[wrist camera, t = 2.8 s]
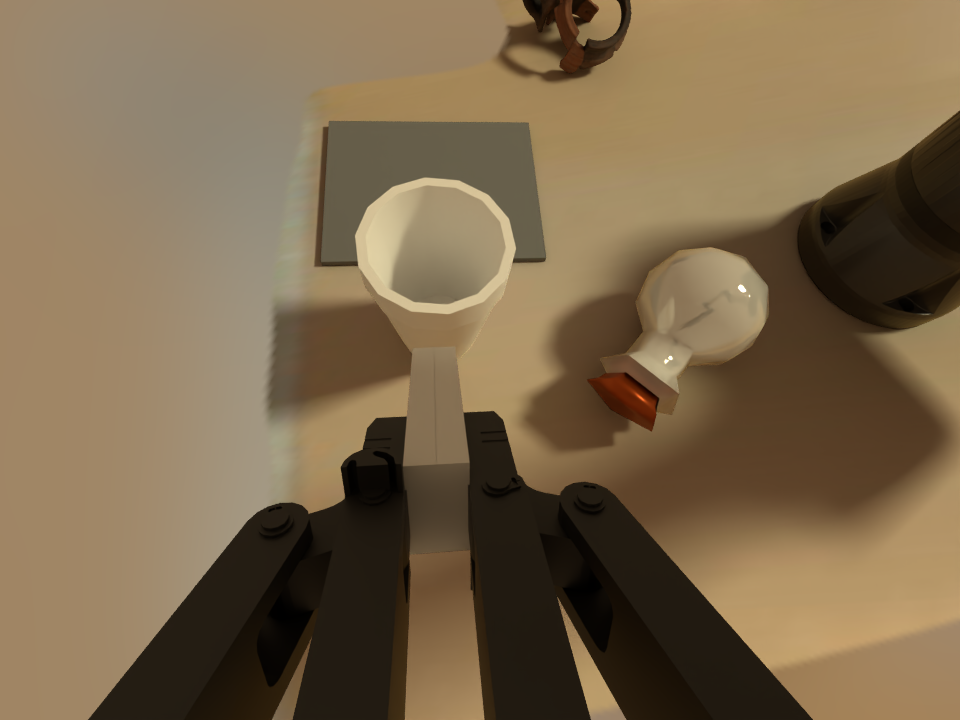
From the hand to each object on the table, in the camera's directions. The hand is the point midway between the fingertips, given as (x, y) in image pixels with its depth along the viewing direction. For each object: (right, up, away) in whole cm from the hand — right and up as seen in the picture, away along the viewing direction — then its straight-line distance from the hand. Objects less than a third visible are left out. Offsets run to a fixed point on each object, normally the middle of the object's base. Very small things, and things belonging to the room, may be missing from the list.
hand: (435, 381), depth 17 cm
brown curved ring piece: (+11, +37, +36) cm, 53 cm away
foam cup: (-2, +3, +23) cm, 23 cm away
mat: (-3, +17, +27) cm, 33 cm away
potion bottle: (+17, +1, +24) cm, 29 cm away
